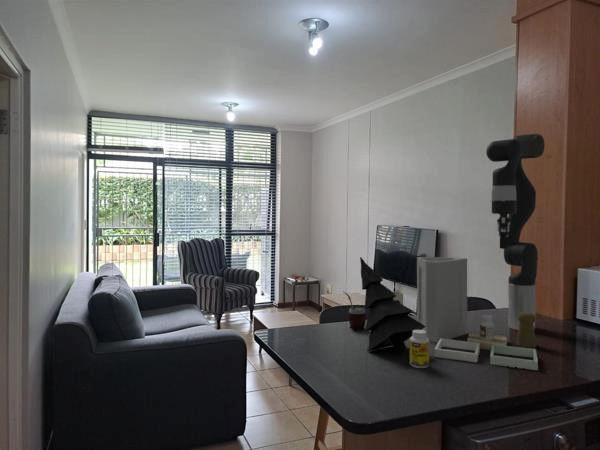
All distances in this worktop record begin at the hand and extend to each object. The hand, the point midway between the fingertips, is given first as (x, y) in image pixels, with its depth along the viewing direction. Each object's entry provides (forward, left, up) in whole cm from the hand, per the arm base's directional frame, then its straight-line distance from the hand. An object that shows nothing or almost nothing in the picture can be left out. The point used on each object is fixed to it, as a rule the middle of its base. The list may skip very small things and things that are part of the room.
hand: (503, 247), depth 146 cm
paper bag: (-5, -23, -33) cm, 41 cm away
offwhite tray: (+16, -13, -33) cm, 39 cm away
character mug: (-11, -40, -33) cm, 53 cm away
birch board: (+2, -5, -33) cm, 34 cm away
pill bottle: (+2, -5, -31) cm, 32 cm away
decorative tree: (+20, -36, -33) cm, 53 cm away
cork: (-3, +7, -33) cm, 34 cm away
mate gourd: (+1, -52, -33) cm, 62 cm away
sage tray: (+16, +3, -33) cm, 37 cm away
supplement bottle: (+32, -22, -33) cm, 51 cm away
